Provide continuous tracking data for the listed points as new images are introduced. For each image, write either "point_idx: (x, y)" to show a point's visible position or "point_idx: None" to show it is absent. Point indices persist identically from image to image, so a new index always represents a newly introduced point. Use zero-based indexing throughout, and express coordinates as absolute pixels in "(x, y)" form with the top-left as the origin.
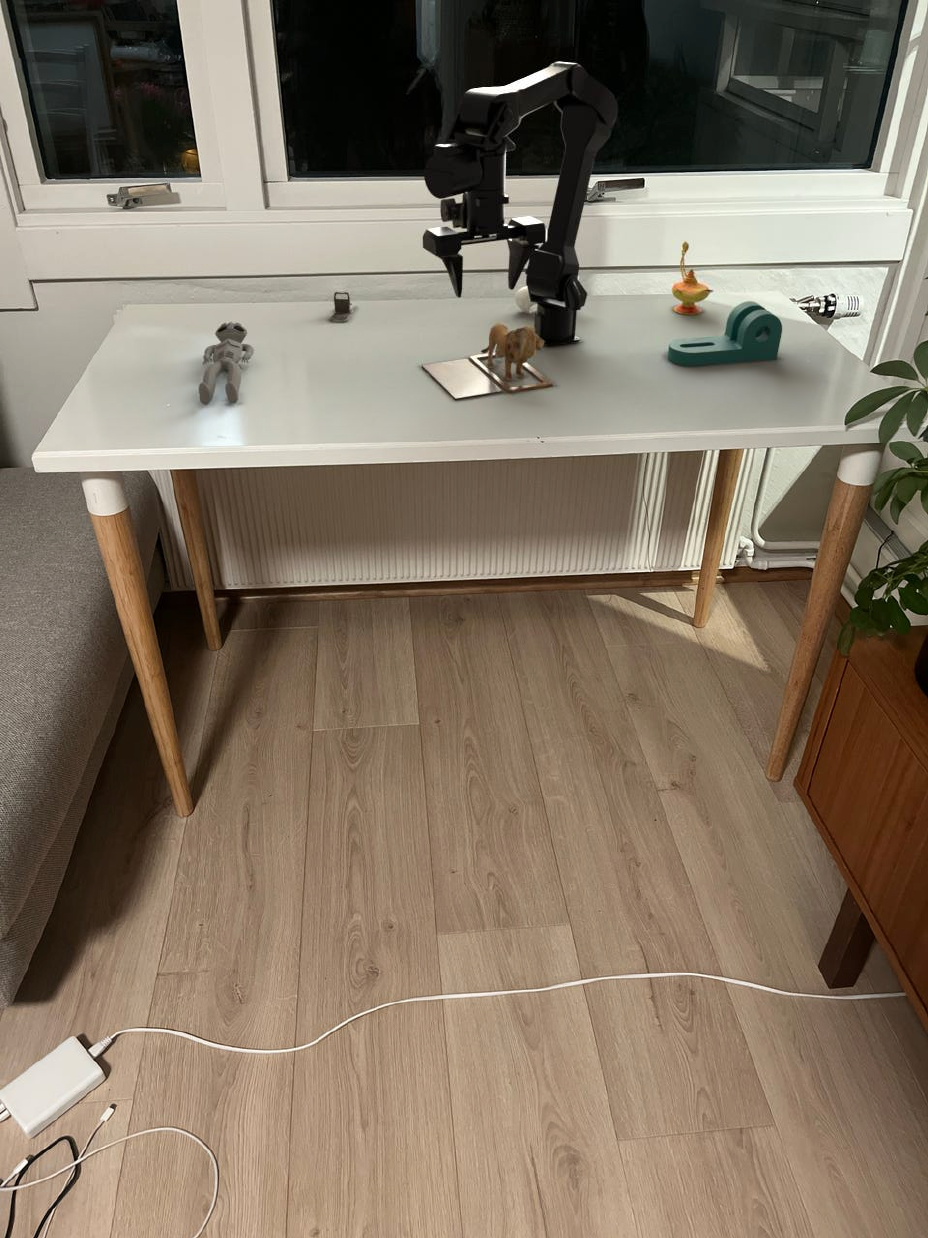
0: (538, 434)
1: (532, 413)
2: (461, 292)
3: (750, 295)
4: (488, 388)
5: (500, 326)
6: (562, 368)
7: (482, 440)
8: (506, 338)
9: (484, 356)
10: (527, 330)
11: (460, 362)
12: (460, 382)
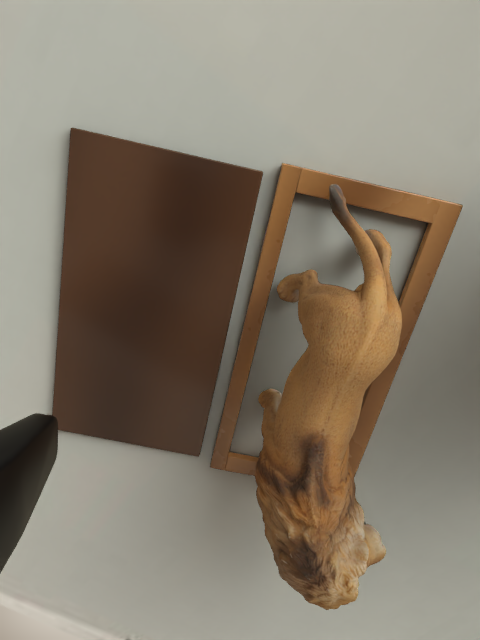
0: (136, 633)
1: (188, 568)
2: (35, 500)
3: None
4: (172, 425)
5: (345, 375)
6: (471, 416)
7: (15, 600)
8: (291, 456)
9: None
10: (311, 601)
11: (219, 195)
12: (121, 347)
